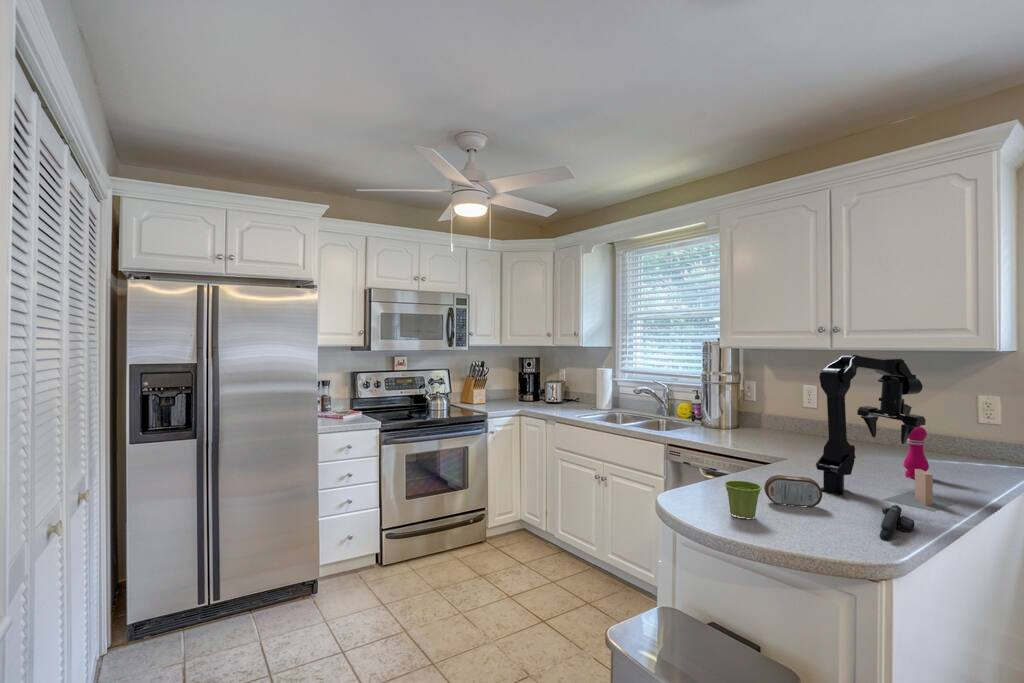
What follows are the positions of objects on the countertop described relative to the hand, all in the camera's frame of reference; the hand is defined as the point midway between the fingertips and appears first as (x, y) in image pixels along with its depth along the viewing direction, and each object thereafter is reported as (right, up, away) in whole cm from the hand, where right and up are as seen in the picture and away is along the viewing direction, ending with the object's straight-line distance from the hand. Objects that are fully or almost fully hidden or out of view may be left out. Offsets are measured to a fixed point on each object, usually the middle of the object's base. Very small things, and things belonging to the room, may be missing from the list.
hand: (888, 440), depth 179 cm
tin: (-46, -15, -25) cm, 54 cm away
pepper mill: (+17, -15, +9) cm, 24 cm away
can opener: (-32, -15, -47) cm, 59 cm away
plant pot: (-65, -14, -35) cm, 75 cm away
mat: (-6, -15, -22) cm, 27 cm away
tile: (-6, -14, -23) cm, 28 cm away
